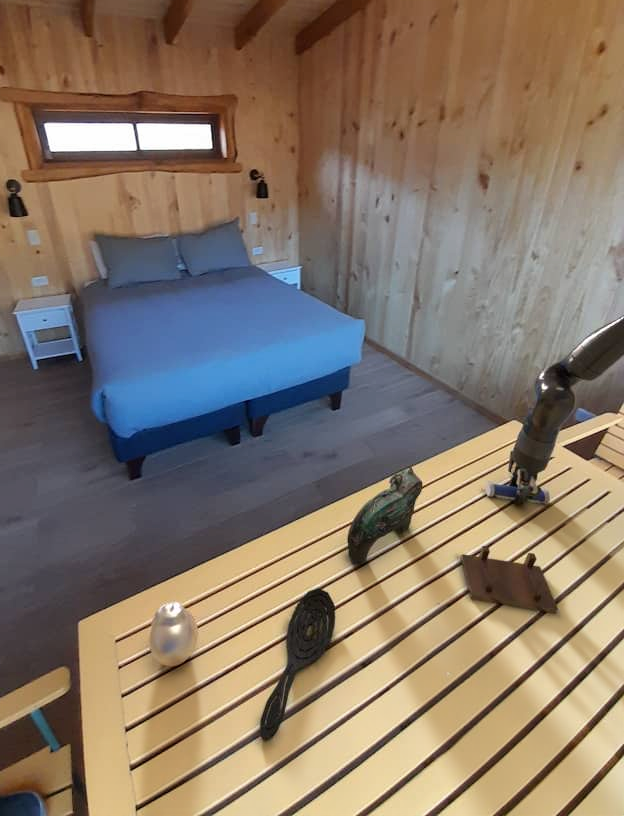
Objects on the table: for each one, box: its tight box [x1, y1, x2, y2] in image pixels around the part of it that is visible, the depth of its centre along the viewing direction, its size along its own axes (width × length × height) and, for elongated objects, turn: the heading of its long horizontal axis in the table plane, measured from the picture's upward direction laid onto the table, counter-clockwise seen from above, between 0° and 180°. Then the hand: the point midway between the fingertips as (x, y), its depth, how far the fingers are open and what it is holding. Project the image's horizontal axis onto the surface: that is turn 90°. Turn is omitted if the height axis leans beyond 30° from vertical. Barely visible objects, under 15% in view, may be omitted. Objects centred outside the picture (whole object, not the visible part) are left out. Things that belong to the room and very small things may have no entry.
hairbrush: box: [259, 587, 336, 741], centre depth 73 cm, size 8×4×25 cm
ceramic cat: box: [346, 466, 423, 566], centre depth 90 cm, size 20×6×20 cm, turn 123°
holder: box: [460, 545, 559, 614], centre depth 84 cm, size 16×9×7 cm, turn 79°
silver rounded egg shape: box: [148, 601, 199, 667], centre depth 74 cm, size 9×10×10 cm
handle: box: [484, 481, 551, 505], centre depth 105 cm, size 14×4×4 cm, turn 79°
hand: (515, 496), depth 105 cm, fingers open, 3 cm apart
